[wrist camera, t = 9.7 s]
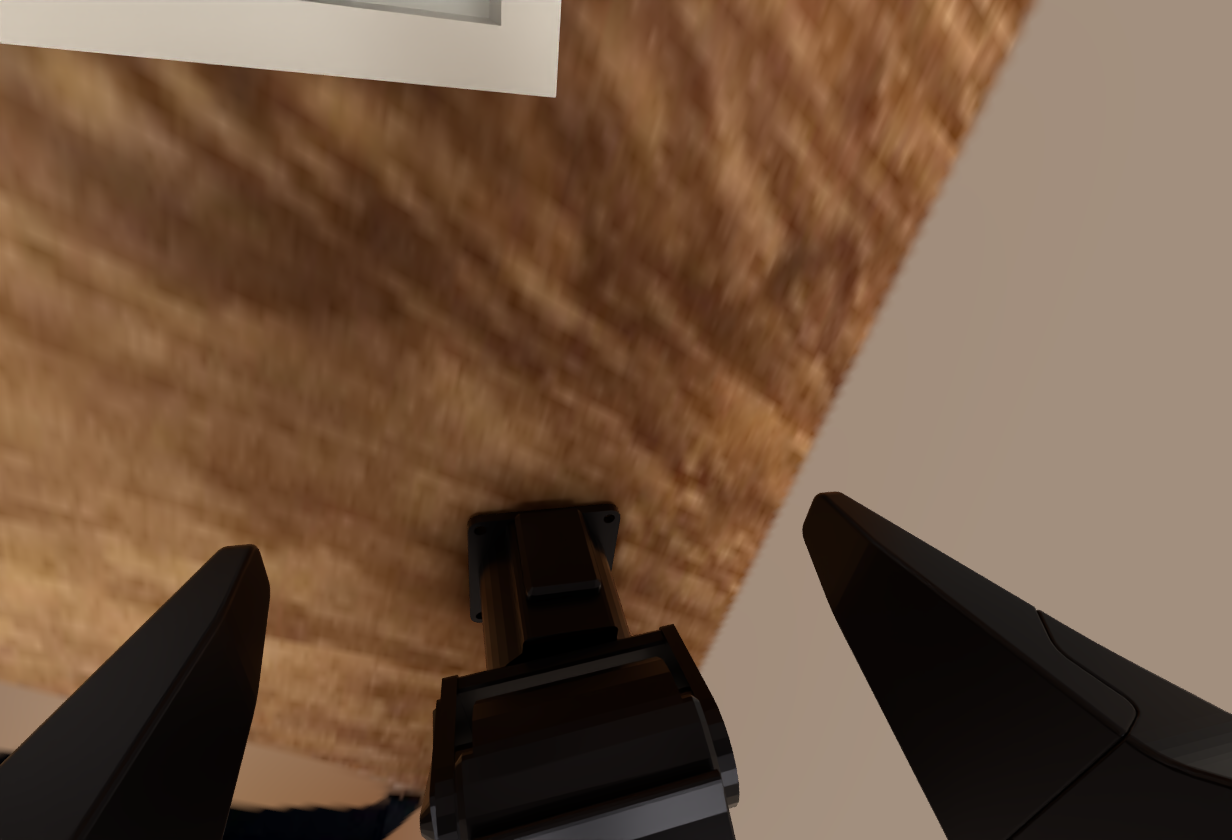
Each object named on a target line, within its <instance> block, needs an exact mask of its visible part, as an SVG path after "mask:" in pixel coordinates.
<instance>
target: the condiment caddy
mask: <svg viewBox="0 0 1232 840" xmlns="http://www.w3.org/2000/svg"><path fill="white" fill-rule="evenodd" d="M560 14H561V0H0V43H2V44H12V45H23V46H33V47H43V48H53V49H63V50H74V51H84V52H94V53H104V54H115V55H125V56H135V57H145V58H155V59H166V60H176V61H186V62H196V63H207V64H217V65H227V66H237V67H247V68H258V69H268V70H278V71H288V72H299V73H309V74H319V75H329V76H339V77H350V78H360V79H370V80H380V81H390V82H401V83H411V84H421V85H431V86H442V87H452V88H462V89H472V90H482V91H493V92H503V93H513V94H523V95H534V96H544V97H554V98H556V87H557V69H558V50H559V32H560Z"/></svg>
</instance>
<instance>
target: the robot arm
mask: <svg viewBox="0 0 1232 840" xmlns="http://www.w3.org/2000/svg"><path fill="white" fill-rule="evenodd" d="M607 515H610V516H607ZM605 516H607V517H605ZM619 522H620V513H619V511H618V508H617V507H616V506H615V505H613V504H604V505H592V506H581V507H569V508H558V509H546V510H534V511H523V512H511V513H500V514H488V515H478V516H475V517H473V518H471V519H470V520H469V521H468V525H467V529H468V562H469V596H470V617H471V620H472V621H474V622H477V623H482V622H483V633H484V644H485V656H486V667H487V671H483V672H478V673H474V674H470V675H466V676H461V677H458V675H455V676H450V677H446V678H442V687H441V699H439V700H437V703H436V709H435V710H434V711H433V753H432V763H431V768H430V772H429V777H428V781H427V786H426V790H425V795H424V799H423V804H422V809H421V814H420V830H421V834H422V836H423V837H424V838H425V839H426V840H736V839H735V835H734V830H733V825H732V821H731V817H730V812H729V808H732V807H736V806H737V804H738V802H739V782H738V775H737V768H736V764H735V760H734V755H733V751H732V747H731V744H730V740H729V736H728V734H727V730H726V727H725V724H724V721H723V719H722V716H721V714H720V711H719V709H718V706H717V704H716V703H715V700H714V698H713V696H712V695H711V692H710V691H709V689H708V687H707V685H706V683H705V681H704V680H703V678H702V676H701V674H700V672H699V670H698V668H697V667H696V665H695V663H694V661H693V659H692V657H691V655H690V654H689V652H688V650H687V648H686V646H685V644H684V643H683V641H682V639H681V637H680V635H679V633H678V631H677V630H676V628H675V626H674V624H671V625H666V626H662V627H660V628H659V630H656V631H652V632H647V633H643V634H639V635H635V636H631V635H630V632H629V629H628V625H627V622H626V619H625V616H624V612H623V609H622V606H621V603H620V600H619V596H618V593H617V590H616V587H615V583H614V580H613V577H612V574H611V570H612V564H613V558H614V552H615V546H616V540H617V534H618V528H619ZM480 526H482V527H483V528H477V527H480ZM802 530H803V538H804V541H805V544H806V546H807V549H808V551H809V554H810V557H811V559H812V562H813V564H814V567H815V569H816V572H817V575H818V577H819V580H820V582H821V585H822V587H823V590H824V592H825V595H826V598H827V600H828V603H829V605H830V607H831V610H832V612H833V614H834V616H835V619H836V621H837V623H838V625H839V627H840V629H841V631H842V633H843V635H844V637H845V639H846V640H847V643H848V645H849V646H850V648H851V650H852V652H853V654H854V656H855V658H856V660H857V662H858V664H859V666H860V668H861V670H862V672H863V674H864V676H865V678H866V680H867V682H868V684H869V686H870V688H871V690H872V691H873V694H874V696H875V698H876V699H877V701H878V703H879V705H880V707H881V709H882V711H883V713H884V715H885V717H886V719H887V721H888V723H889V725H890V727H891V729H892V731H893V733H894V735H895V737H896V739H897V741H898V742H899V745H900V746H901V749H902V751H903V752H904V754H905V756H906V758H907V760H908V762H909V764H910V766H911V768H912V770H913V772H914V774H915V776H916V778H917V780H918V782H919V784H920V786H921V788H922V790H923V792H924V794H925V795H926V798H927V800H928V802H929V804H930V806H931V808H932V810H933V811H934V813H935V815H936V817H937V819H938V821H939V823H940V825H941V827H942V829H943V831H944V833H945V835H946V837H947V839H948V840H1232V714H1230V713H1228V712H1226V711H1224V710H1222V709H1220V708H1218V707H1217V706H1215V705H1213V704H1211V703H1209V702H1207V701H1205V700H1203V699H1201V698H1199V697H1197V696H1196V695H1194V694H1192V693H1190V692H1188V691H1186V690H1184V689H1182V688H1180V687H1178V686H1176V685H1175V684H1172V683H1171V682H1169V681H1167V680H1165V679H1163V678H1161V677H1159V676H1157V675H1156V674H1154V673H1152V672H1150V671H1148V670H1146V669H1144V668H1142V667H1140V666H1138V665H1136V664H1135V663H1133V662H1131V661H1129V660H1127V659H1125V658H1123V657H1122V656H1119V655H1118V654H1116V653H1114V652H1112V651H1110V650H1109V649H1107V648H1105V647H1103V646H1101V645H1099V644H1097V643H1096V642H1094V641H1092V640H1090V639H1088V638H1087V637H1085V636H1083V635H1082V634H1080V633H1078V632H1076V631H1075V630H1073V629H1071V628H1069V627H1068V626H1066V625H1064V624H1062V623H1061V622H1059V621H1057V620H1055V619H1054V618H1052V617H1051V616H1049V615H1047V614H1045V613H1044V612H1042V611H1041V610H1036V609H1035V607H1034V606H1032V605H1030V604H1029V603H1027V602H1025V601H1024V600H1022V599H1020V598H1019V597H1017V596H1015V595H1013V594H1012V593H1010V592H1008V591H1006V590H1005V589H1003V588H1002V587H1000V586H998V585H997V584H995V583H993V582H991V581H990V580H988V579H986V578H985V577H983V576H981V575H980V574H978V573H976V572H974V571H973V570H971V569H969V568H968V567H966V566H964V565H963V564H961V563H959V562H958V561H956V560H954V559H953V558H951V557H949V556H948V555H946V554H944V553H942V552H941V551H939V550H937V549H936V548H934V547H932V546H930V545H929V544H927V543H925V542H924V541H922V540H921V539H919V538H917V537H915V536H914V535H912V534H910V533H909V532H907V531H905V530H904V529H902V528H900V527H899V526H897V525H895V524H893V523H892V522H890V521H888V520H887V519H885V518H883V517H882V516H880V515H878V514H876V513H875V512H873V511H871V510H870V509H868V508H866V507H865V506H863V505H861V504H860V503H858V502H856V501H854V500H853V499H851V498H849V497H848V496H846V495H844V494H843V493H840V492H825V493H819V494H818V495H816V496H815V497H814V499H813V502H812V504H811V506H810V509H809V511H808V514H807V517H806V519H805V521H804V524H803V529H802ZM269 602H270V584H269V580H268V577H267V573H266V570H265V567H264V564H263V561H262V557H261V554H260V551H259V549H258V548H257V546H255V545H253V544H246V545H235V546H226V547H223V548H221V549H220V550H218V551H217V552H216V553H215V554H214V555H213V556H212V557H211V558H210V559H209V560H208V561H207V562H206V563H205V564H204V565H203V566H202V567H201V568H200V569H199V570H198V571H197V572H196V573H195V574H194V575H193V576H192V577H191V578H190V579H189V580H188V581H187V582H186V583H185V584H184V585H183V586H182V587H181V588H180V589H179V590H178V591H177V592H176V593H175V594H174V595H173V596H172V597H171V598H170V599H168V600H167V601H166V602H165V603H164V604H163V605H162V606H161V607H160V608H159V609H158V610H157V611H156V612H155V613H154V614H153V615H152V616H151V617H150V618H149V619H148V620H147V621H146V622H145V623H144V624H143V625H142V626H141V627H140V628H139V629H138V630H137V631H136V632H135V633H134V634H133V635H132V636H131V637H130V638H129V639H128V640H127V641H126V642H125V643H124V644H123V645H122V646H121V647H120V648H119V649H118V650H117V651H116V652H115V653H114V654H113V655H112V656H111V657H110V658H109V659H107V660H106V661H105V662H104V663H103V664H102V665H101V666H100V667H99V668H98V669H97V670H96V671H95V672H94V673H93V674H92V675H91V676H90V677H89V678H88V679H87V680H86V681H85V682H84V683H83V684H82V685H81V686H80V687H79V688H78V689H77V690H76V691H75V692H74V693H73V694H72V695H71V696H70V697H69V698H68V699H67V700H66V701H65V702H64V703H63V704H62V705H61V706H60V707H59V708H58V709H57V710H56V711H55V712H54V713H53V714H52V715H51V716H50V717H49V718H48V719H46V720H45V722H44V723H42V725H40V726H39V727H38V728H37V729H36V730H35V731H34V732H33V733H32V734H31V735H30V736H29V737H28V738H27V739H26V740H25V741H24V742H23V743H22V744H21V745H20V746H19V747H18V748H17V749H16V750H15V751H14V752H13V753H12V754H11V755H10V756H9V757H8V758H7V759H6V760H5V761H4V762H3V763H2V764H1V765H0V840H222V837H223V833H224V829H225V826H226V822H227V818H228V814H229V810H230V806H231V802H232V798H233V794H234V790H235V786H236V782H237V778H238V774H239V770H240V766H241V762H242V759H243V755H244V751H245V747H246V743H247V739H248V735H249V731H250V727H251V723H252V719H253V715H254V710H255V706H256V701H257V695H258V688H259V681H260V673H261V665H262V657H263V649H264V641H265V633H266V626H267V618H268V610H269Z"/></svg>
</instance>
